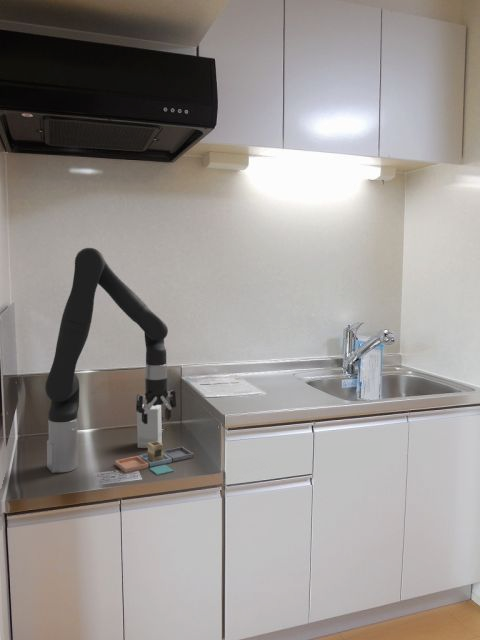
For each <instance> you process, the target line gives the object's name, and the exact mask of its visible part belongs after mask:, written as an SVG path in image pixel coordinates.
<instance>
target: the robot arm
mask: <svg viewBox="0 0 480 640" xmlns="http://www.w3.org/2000/svg"><path fill="white" fill-rule="evenodd" d="M72 280H73V281H72V286H71V290H70V294H69V295H68V299H67V300H66V301H67V302H66V304H65V306H64V309H63V313H62V316H61V320H60V325H59V329H58V335H57V340H56V346H55V352H54V358H53V361H52V365H51V368H50V371H49V373H48V376H47V379H46V381H45V387H44V389H45V394H46V395H47V397H48V399H50V401H51V403H50V407H49V410H48V440H46V466H47V469H48V470H49V471H50V472H51V473H52V474H56V473H60V474H61V473H67V472H71V471H74V470H76V469H77V468H78V467H79V466H78V461H79V459H78V455H79V454H78V411H79V408H80V407H79V406H80V381H79V378H78V375H77V374H76V373H75V371H76V367H77V363H78V361H79V358H80V356H81V353H82V351H83V350H84V347H85V345H86V342H87V340H88V336H89V332H90V328H91V325H92V320H93V313H94V312H93V311H94V303H95V295H96V291H97V289H98V288H97V287H98V285H99V287H101V288H102V289H103V290H104V291H105V292H106V293H107V295H108V296H110V298H111V299H112V301H114V303H115V304H116V305H117V306H118V308H120V309H121V310H122V312H123V313H124V314H125V315H126V316H127V317H128V318H129V319H130V320H131V321H132V322H135V324H137V325H138V327H139V328H140V329H141V330H142V331H143V332H144V342H145V369H144V370H145V371H144V376H145V377H144V381H145V386H144V387H145V388H144V389H145V393H144V394H140V393H139V394H137V395H136V404H135V410H136V413H137V412H139V413H142V422H143V423H144V424H147V423H148V417H147V412H148V410H149V409H150V408H151V407H152V406H156V405H161V406H162V405H163V406H164V408H165V409H164V419H165V420H167V421H169V420H170V419H171V417H172V409H173V408H176V407H177V401H176V397H177V396H176V391H175V390H173V389H170V390H168V366H167V349H166V347H165V338H166V337H167V336H168V333H169V330H168V326H167V323H165V322H164V321H163V320H162V319H161V318H160V317H159V316H157V314H155V313H154V312H153V311H152V310H151V309H150V307H148V305H147V304H146V303H145V302H144V300H142V298H140V297H139V296H138V294H136V292H134V291H133V290H132V289H131V288H130V287H128V285H126V284H125V282H123V281H122V280H121V278H119V277H118V275H117V274H116V273H115V272H114V271H113V269H111V267H110V266H109V264H108V262H106V260H105V257H104V255H103V254H102V253H101V252H100V251H99V250H98V249H96V248H95V247H94V248H93V247H85V248H82V249H81V250H79V251H78V252H77V254H76V256H75V258H74V271H73V278H72ZM167 397H169V401H168V400H167ZM145 400H146V401H145ZM144 401H145V402H144ZM143 402H144V403H143ZM143 404H144V406H143ZM142 407H143V408H142Z"/></svg>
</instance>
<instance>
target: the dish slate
mask: <svg viewBox="0 0 480 640" xmlns="http://www.w3.org/2000/svg"><path fill="white" fill-rule="evenodd" d="M138 456H139V457H140V458H142V459H143V460H144V461H146V462H147V463H148V464H149V466H148V468H152V467H157V466H161V465H167V464H172V463H173V462H172V458H170V457H169V456H167V455H166V454H164V453H163V460H160V461H156V462H151V461H149V460H148V453H145V454H140V455H138Z"/></svg>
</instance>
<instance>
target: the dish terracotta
mask: <svg viewBox="0 0 480 640" xmlns="http://www.w3.org/2000/svg"><path fill="white" fill-rule="evenodd" d="M114 465H115V466H116V467H117V468H119V470H121V471H122V472H123V473H125V474H127V473H131V472H138V471H140V470H145V469H146V470H147V469H149V467H148V466H149V464H148V463H147V462H146V461H144V460H143V459H142V458H140V457H139V455H135V456H131V457H126V458H121V459H117V460H116V459H115V461H114Z"/></svg>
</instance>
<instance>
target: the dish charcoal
mask: <svg viewBox="0 0 480 640" xmlns="http://www.w3.org/2000/svg"><path fill="white" fill-rule="evenodd" d="M163 453H164V454H166V455H167V456H169V457H170V458H172V463H177V462H180V461H186V460H188V459H189V460H190V459H194V455H195V454H194V452H191V451H190V450H188V449H187V448H185V446H179V447H174V448H169V449H163Z"/></svg>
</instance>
